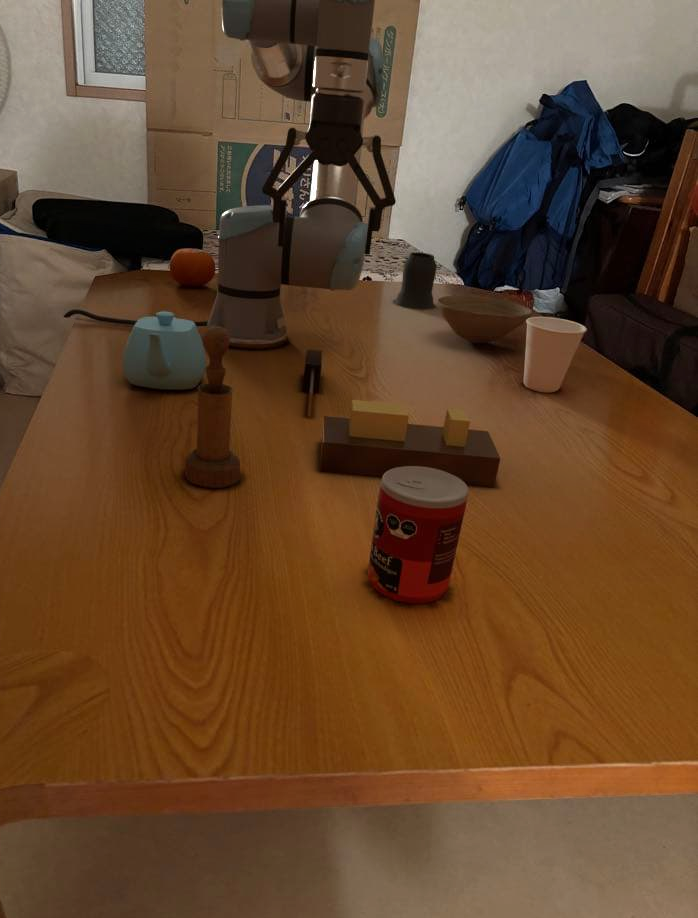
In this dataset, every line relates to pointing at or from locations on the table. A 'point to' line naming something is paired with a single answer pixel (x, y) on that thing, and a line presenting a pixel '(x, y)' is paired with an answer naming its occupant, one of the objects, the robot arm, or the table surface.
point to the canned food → (416, 533)
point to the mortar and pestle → (213, 421)
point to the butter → (378, 420)
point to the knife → (312, 374)
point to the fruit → (192, 267)
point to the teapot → (164, 353)
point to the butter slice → (456, 427)
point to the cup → (549, 351)
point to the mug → (417, 281)
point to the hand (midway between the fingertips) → (323, 249)
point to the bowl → (481, 317)
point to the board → (408, 453)
